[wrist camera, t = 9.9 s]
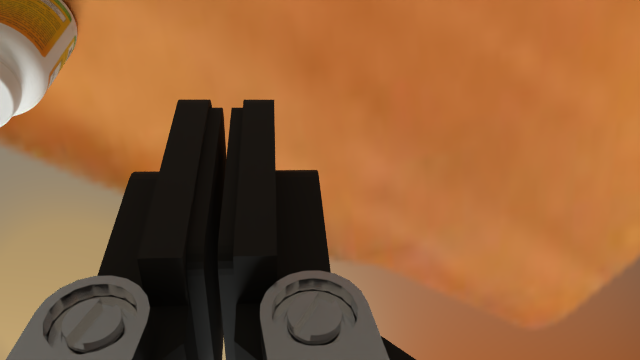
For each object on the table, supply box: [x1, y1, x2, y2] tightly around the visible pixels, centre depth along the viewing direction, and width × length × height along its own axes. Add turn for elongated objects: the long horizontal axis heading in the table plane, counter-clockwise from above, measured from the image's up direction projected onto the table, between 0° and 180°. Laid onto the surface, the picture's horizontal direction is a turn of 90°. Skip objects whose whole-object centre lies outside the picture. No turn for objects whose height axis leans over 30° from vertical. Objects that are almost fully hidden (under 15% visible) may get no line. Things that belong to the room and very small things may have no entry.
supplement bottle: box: [0, 0, 77, 127], centre depth 31 cm, size 5×5×10 cm
